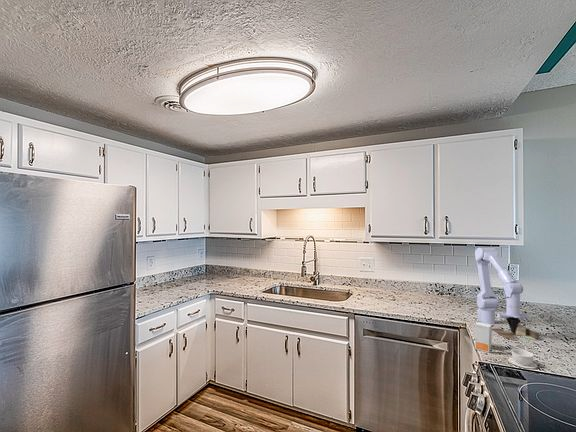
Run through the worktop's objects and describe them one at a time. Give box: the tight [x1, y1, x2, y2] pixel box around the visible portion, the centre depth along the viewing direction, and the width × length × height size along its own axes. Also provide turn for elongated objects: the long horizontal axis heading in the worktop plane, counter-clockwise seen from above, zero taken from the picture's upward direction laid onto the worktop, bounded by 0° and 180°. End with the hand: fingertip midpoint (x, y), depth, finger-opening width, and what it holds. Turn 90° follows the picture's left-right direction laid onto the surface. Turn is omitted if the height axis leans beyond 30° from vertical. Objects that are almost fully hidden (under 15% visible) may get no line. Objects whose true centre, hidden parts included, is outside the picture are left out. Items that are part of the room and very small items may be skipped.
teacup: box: [507, 348, 538, 370], centre depth 131 cm, size 10×10×5 cm
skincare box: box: [474, 321, 493, 354], centre depth 143 cm, size 6×4×12 cm
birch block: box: [514, 324, 527, 337], centre depth 159 cm, size 4×4×4 cm
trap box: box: [492, 323, 539, 341], centre depth 160 cm, size 14×15×4 cm
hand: (512, 332), depth 160 cm, fingers closed
